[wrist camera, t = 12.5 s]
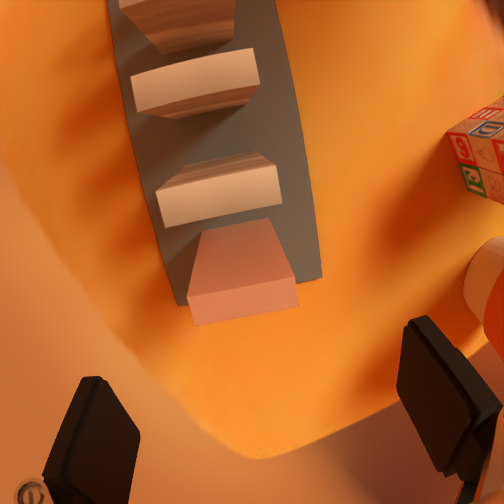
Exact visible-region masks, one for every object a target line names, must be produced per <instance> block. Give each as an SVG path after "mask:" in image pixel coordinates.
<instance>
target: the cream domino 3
mask: <svg viewBox="0 0 504 504" xmlns="http://www.w3.org/2000/svg"><path fill="white" fill-rule="evenodd" d="M156 195H157V199H158V203H159V207H160V211H161V214H162V218H163V222H164V225H165V228H167V227H172V226H176V225H180V224H185V223H189V222H194V221H199V220H203V219H208V218H213V217H217V216H222V215H227V214H232V213H236V212H241V211H246V210H251V209H256V208H261V207H266V206H271V205H277V204H282V197H281V192H280V186H279V180H278V174H277V169H276V165H274V164H273V163H272V162H270V161H269V160H268V159H266V158H265V157H264V156H262V155H261V154H260V153H258V152H257V151H251V152H246V153H241V154H236V155H231V156H226V157H222V158H217V159H212V160H208V161H203V162H199V163H194V164H190V165H186V166H185V167H184V168H182V169H181V170H180V171H179V172H178V173H176V174H175V175H174V176H173V177H172V178H171V179H169V180H168V181H167V182H166V183H165V184H164V185H162V186H161V187H160V188H159V189H158V190H157V191H156Z"/></svg>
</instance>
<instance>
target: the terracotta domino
mask: <svg viewBox="0 0 504 504" xmlns="http://www.w3.org/2000/svg"><path fill="white" fill-rule="evenodd" d="M187 300H188V303H189V307H190V310H191V313H192V316H193V319H194V322H195V325H196V326H198V325H203V324H209V323H215V322H221V321H226V320H232V319H237V318H242V317H248V316H253V315H258V314H263V313H268V312H273V311H278V310H283V309H288V308H292V307H297V306H299V303H298V296H297V289H296V281H295V276H294V273H293V271H292V269H291V267H290V264H289V262H288V260H287V257H286V255H285V253H284V251H283V248H282V246H281V244H280V242H279V239H278V237H277V235H276V233H275V231H274V228H273V226H272V224H271V222H270V219H269V218H264V219H259V220H254V221H249V222H244V223H239V224H234V225H229V226H224V227H219V228H215V229H210V230H205V231H202V233H201V237H200V242H199V246H198V250H197V254H196V258H195V263H194V267H193V271H192V276H191V280H190V284H189V289H188V293H187Z"/></svg>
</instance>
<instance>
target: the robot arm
mask: <svg viewBox="0 0 504 504" xmlns="http://www.w3.org/2000/svg"><path fill="white" fill-rule="evenodd" d="M396 387H397V392H398V395H399V397H400V399H401V401H402V403H403V404H404V407H405V408H406V410H407V412H408V414H409V416H410V418H411V420H412V422H413V424H414V426H415V428H416V430H417V432H418V434H419V436H420V438H421V440H422V442H423V444H424V446H425V448H426V450H427V452H428V454H429V456H430V458H431V460H432V462H433V464H434V466H435V468H436V470H437V471H438V472H443V474H444V476H445V478H446V477H448V476H450V475H453V474H455V473H457V474H458V476H459V478H460V480H461V483H460V486H459V489H458V492H457V495H456V498H455V501H454V503H453V504H504V407H503V405H502V404H501V403H500V401H499V400H498V398H497V397H496V396H495V394H494V393H493V392H492V390H491V389H490V388H489V386H488V385H487V384H486V383H485V381H484V380H483V379H482V378H481V376H480V375H479V374H478V372H477V371H476V370H475V369H474V367H473V366H472V365H471V364H470V362H469V361H468V360H467V358H466V357H465V356H464V355H463V354H462V352H461V351H460V350H459V349H457V348H455V347H454V346H453V345H452V344H451V342H450V341H449V340H448V339H447V338H446V336H445V335H444V334H443V333H442V332H441V330H440V329H439V328H438V327H437V326H436V325H435V323H434V322H433V321H432V320H431V319H430V318H429V317H428V316H427V315H424V316H421V317H418V318H415V319H411V320H409V322H408V326H405V327H404V330H403V339H402V348H401V356H400V364H399V371H398V378H397V385H396ZM139 443H140V432H139V430H138V428H137V427H136V425H135V424H134V422H133V421H132V420H131V418H130V416H129V415H128V413H127V412H126V410H125V409H124V407H123V406H122V404H121V403H120V401H119V400H118V398H117V396H116V395H115V393H114V392H113V390H112V388H111V387H110V385H109V384H108V382H107V381H106V380H103V379H102V377H100V376H89V377H83V378H82V379H81V381H80V384H79V386H78V388H77V390H76V393H75V395H74V397H73V399H72V402H71V404H70V406H69V408H68V411H67V413H66V415H65V417H64V420H63V422H62V424H61V427H60V429H59V432H58V434H57V437H56V439H55V442H54V444H53V447H52V449H51V452H50V454H49V457H48V460H47V462H46V465H45V468H44V470H43V473H42V476H43V477H44V480H43V481H41V480H40V479H37V478H29V479H26V480H24V481H22V482H21V483H20V484H19V485H18V487H17V488H16V490H15V493H14V503H15V504H128V501H129V494H130V490H131V484H132V479H133V473H134V468H135V463H136V458H137V453H138V448H139Z"/></svg>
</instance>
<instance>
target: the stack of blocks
mask: <svg viewBox="0 0 504 504" xmlns="http://www.w3.org/2000/svg"><path fill="white" fill-rule="evenodd" d="M447 135H448V137H449V139H450V142H451V145H452V147H453V150H454V152H455V155H456V158H457V160H458V162H459V165H460V168H461V170H462V173H463V176H464V179H465V183H466V186H467V189H468V191H470V192H473V193H475V194H477V195H480V196H482V197H485V198H489V199H491V200H494V201H496V202H498V203H501V204H503V205H504V96H502V98H500V99H498V100H497V101H495V102H493V103H492V104H490V105H489V106H487V107H484V108H483V109H481V110H480V111H478V112H477V113H475V114H473V115H472V116H470V117H469V118H467V119H465V120H463V121H462V122H460V123H459V124H457V125H455V126H454V127H452V128H451V129H449V130H448V131H447Z"/></svg>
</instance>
